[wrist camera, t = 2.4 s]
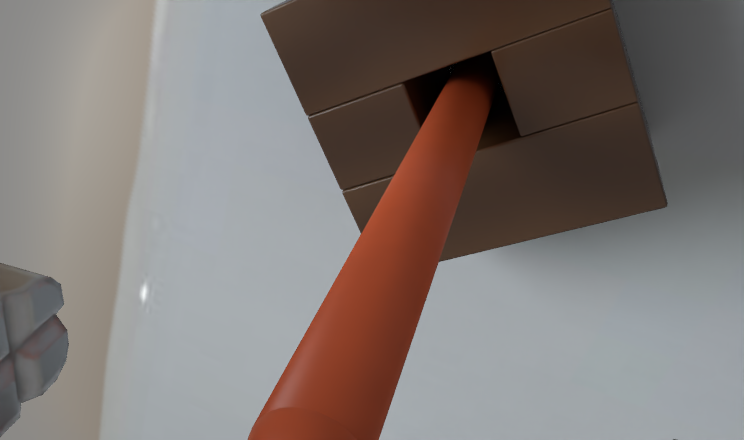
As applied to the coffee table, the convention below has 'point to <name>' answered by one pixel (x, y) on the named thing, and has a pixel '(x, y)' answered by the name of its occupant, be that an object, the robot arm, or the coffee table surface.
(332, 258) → the coffee table surface
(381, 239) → the orange thin rod
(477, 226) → the brown wooden square block
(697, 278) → the coffee table surface
